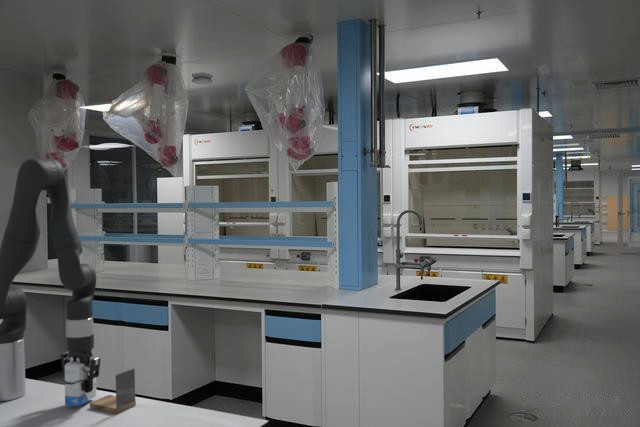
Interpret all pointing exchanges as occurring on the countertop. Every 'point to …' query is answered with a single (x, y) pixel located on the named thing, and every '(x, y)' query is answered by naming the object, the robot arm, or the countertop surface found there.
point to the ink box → (77, 385)
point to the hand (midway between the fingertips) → (80, 390)
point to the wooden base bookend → (119, 395)
